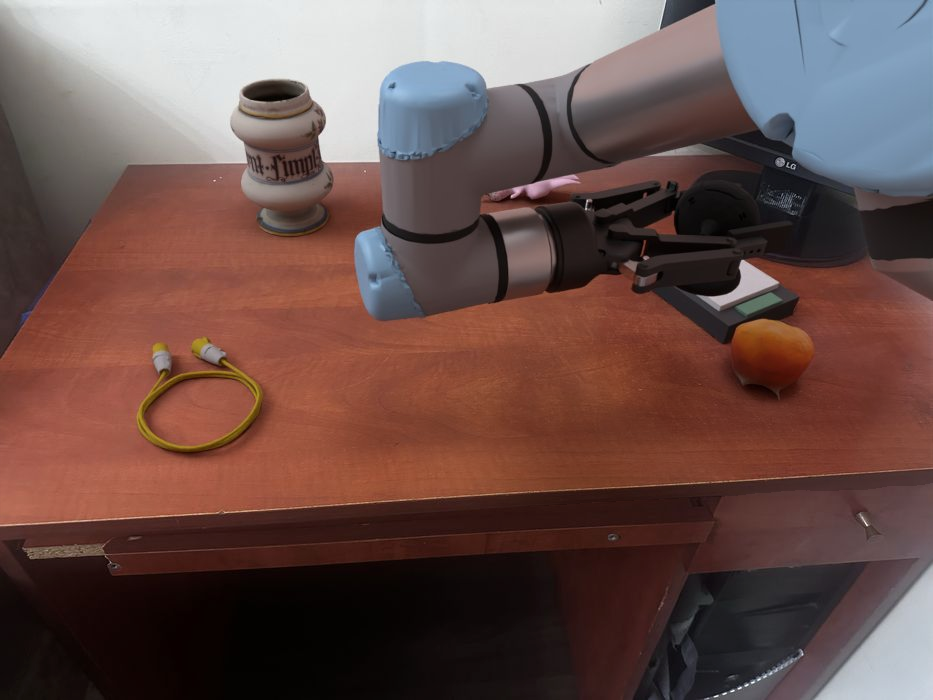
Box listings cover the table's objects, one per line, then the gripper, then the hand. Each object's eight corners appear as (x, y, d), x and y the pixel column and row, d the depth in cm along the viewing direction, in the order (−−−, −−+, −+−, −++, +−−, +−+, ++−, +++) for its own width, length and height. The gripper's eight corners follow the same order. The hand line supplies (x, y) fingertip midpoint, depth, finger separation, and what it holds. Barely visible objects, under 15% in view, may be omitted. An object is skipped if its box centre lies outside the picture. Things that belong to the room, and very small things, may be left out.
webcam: (749, 272, 70) (782, 180, 64) (725, 308, 65) (758, 212, 59) (675, 247, 73) (699, 156, 67) (647, 280, 69) (670, 185, 62)
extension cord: (274, 346, 77) (271, 331, 76) (253, 454, 65) (249, 439, 64) (158, 348, 76) (154, 334, 75) (116, 459, 64) (109, 444, 63)
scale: (792, 314, 86) (802, 291, 84) (723, 343, 81) (731, 320, 79) (719, 265, 93) (726, 243, 91) (651, 290, 88) (656, 267, 86)
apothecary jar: (235, 210, 100) (210, 81, 88) (314, 190, 105) (301, 66, 93) (267, 249, 92) (245, 114, 80) (351, 226, 97) (341, 96, 86)
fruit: (724, 391, 72) (745, 315, 71) (717, 379, 80) (736, 310, 79) (807, 411, 71) (830, 333, 69) (792, 396, 78) (812, 326, 77)
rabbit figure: (482, 215, 104) (584, 201, 103) (477, 178, 100) (583, 163, 99) (479, 195, 109) (576, 181, 108) (474, 159, 105) (575, 144, 104)
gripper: (494, 231, 70) (692, 202, 76) (584, 356, 56) (817, 307, 62) (499, 160, 65) (710, 135, 72) (599, 277, 51) (851, 232, 57)
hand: (759, 215), depth 67 cm, fingers closed on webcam, 7 cm apart
